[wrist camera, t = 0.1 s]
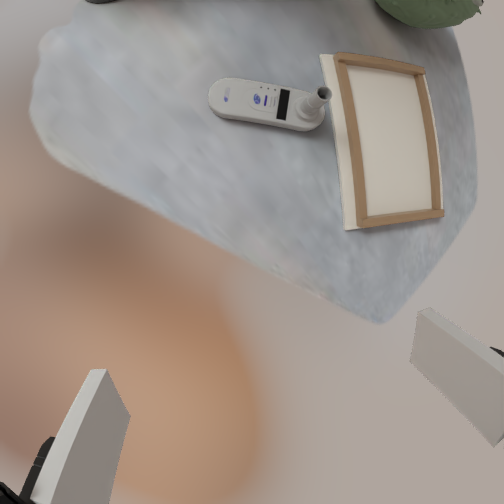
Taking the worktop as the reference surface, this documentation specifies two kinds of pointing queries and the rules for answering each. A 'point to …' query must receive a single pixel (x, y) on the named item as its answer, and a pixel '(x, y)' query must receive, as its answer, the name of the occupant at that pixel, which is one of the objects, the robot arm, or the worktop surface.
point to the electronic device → (268, 103)
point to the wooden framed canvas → (383, 140)
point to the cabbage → (431, 11)
